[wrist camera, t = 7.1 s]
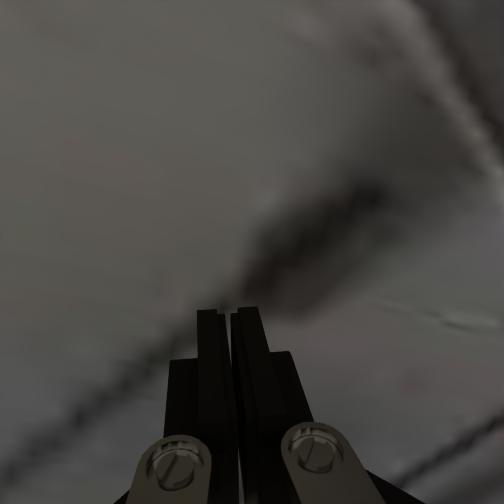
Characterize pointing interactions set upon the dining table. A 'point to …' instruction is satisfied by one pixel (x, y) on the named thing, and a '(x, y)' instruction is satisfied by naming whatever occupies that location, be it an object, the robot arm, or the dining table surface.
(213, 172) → the dining table surface
